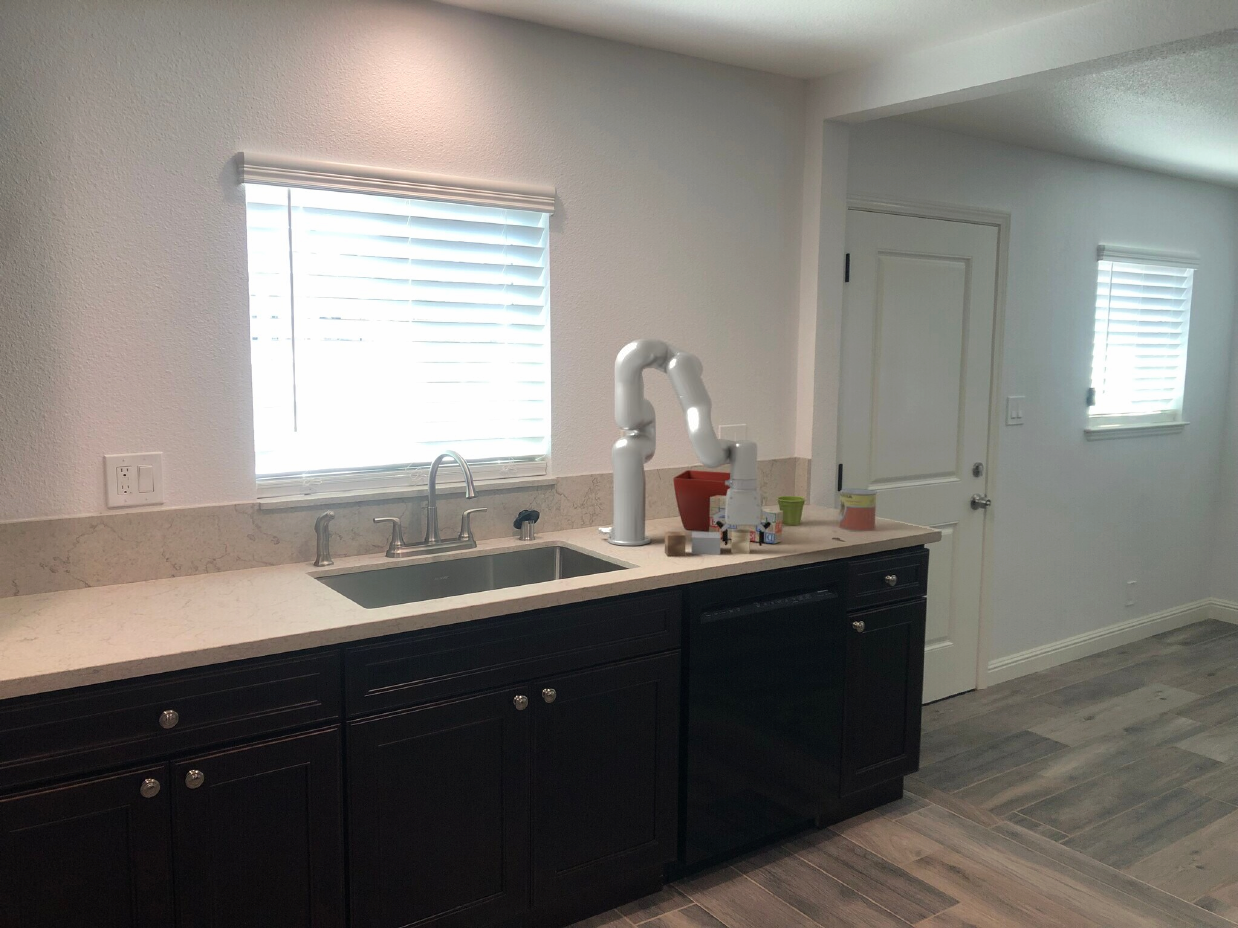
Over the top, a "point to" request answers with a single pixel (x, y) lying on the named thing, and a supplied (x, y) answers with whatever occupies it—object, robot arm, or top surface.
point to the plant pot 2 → (791, 509)
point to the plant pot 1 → (698, 496)
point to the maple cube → (740, 541)
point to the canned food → (857, 510)
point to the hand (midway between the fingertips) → (743, 544)
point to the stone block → (706, 543)
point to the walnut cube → (675, 544)
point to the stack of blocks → (770, 534)
